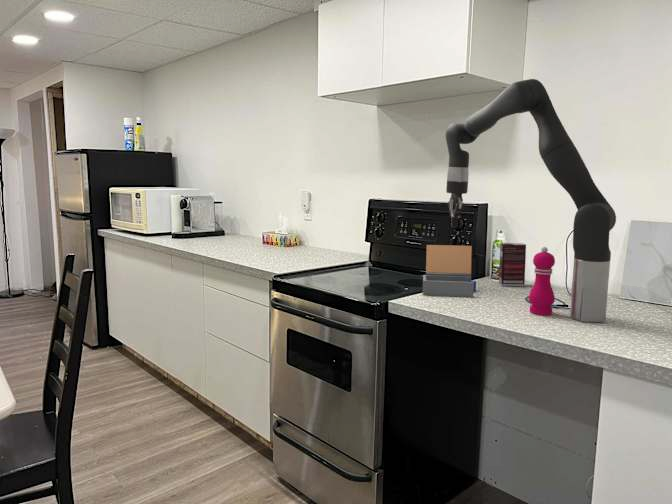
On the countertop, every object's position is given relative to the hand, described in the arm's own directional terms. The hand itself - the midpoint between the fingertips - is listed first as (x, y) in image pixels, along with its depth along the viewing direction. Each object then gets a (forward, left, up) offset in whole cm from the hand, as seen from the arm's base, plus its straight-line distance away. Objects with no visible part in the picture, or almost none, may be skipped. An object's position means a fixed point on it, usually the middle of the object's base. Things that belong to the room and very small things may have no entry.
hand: (454, 227), depth 186 cm
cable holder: (-10, -4, -23) cm, 25 cm away
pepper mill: (-34, -24, -22) cm, 48 cm away
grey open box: (-11, +2, -22) cm, 25 cm away
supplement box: (+6, -22, -22) cm, 32 cm away
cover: (-5, +2, -12) cm, 13 cm away
